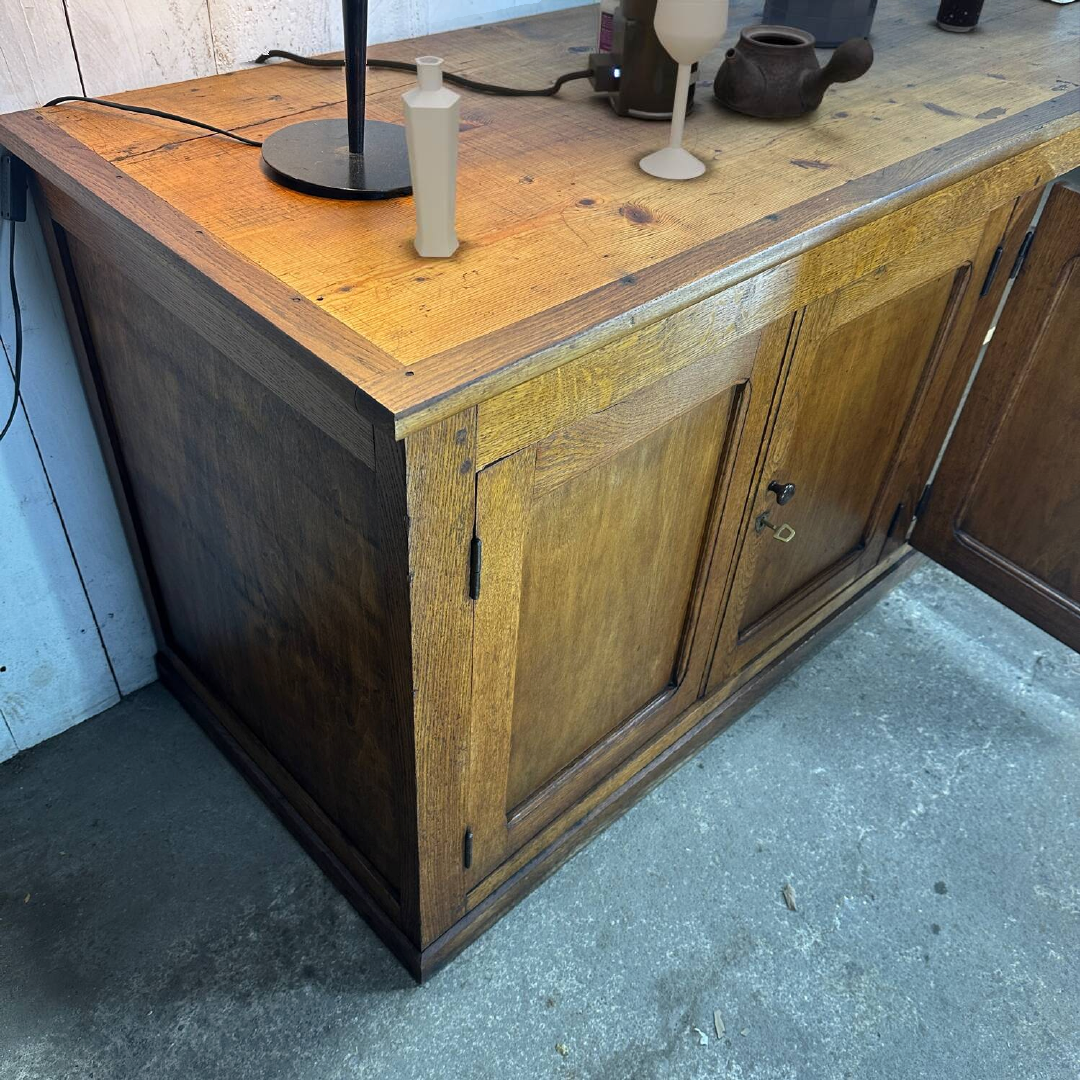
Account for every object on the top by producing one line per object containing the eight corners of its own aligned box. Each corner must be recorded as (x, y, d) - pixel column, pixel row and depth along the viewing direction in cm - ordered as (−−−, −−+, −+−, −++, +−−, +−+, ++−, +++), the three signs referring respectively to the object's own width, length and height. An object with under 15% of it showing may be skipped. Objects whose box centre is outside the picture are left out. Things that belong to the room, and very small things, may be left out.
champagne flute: (625, 165, 99) (652, -119, 83) (665, 148, 103) (698, -127, 87) (680, 185, 96) (719, -107, 80) (718, 166, 100) (763, -116, 83)
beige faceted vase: (463, 235, 86) (460, 51, 76) (462, 259, 83) (459, 69, 73) (410, 235, 86) (400, 49, 76) (407, 258, 82) (396, 67, 72)
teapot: (672, 109, 112) (684, 12, 105) (752, 81, 120) (768, -11, 113) (813, 159, 102) (836, 56, 95) (890, 125, 110) (916, 28, 104)
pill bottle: (645, 72, 121) (654, -16, 114) (606, 76, 119) (613, -13, 113) (626, 59, 125) (634, -27, 118) (588, 62, 123) (594, -25, 116)
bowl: (781, 49, 130) (791, -6, 126) (747, 18, 141) (755, -34, 136) (884, 48, 132) (898, -6, 128) (843, 17, 143) (854, -34, 138)
